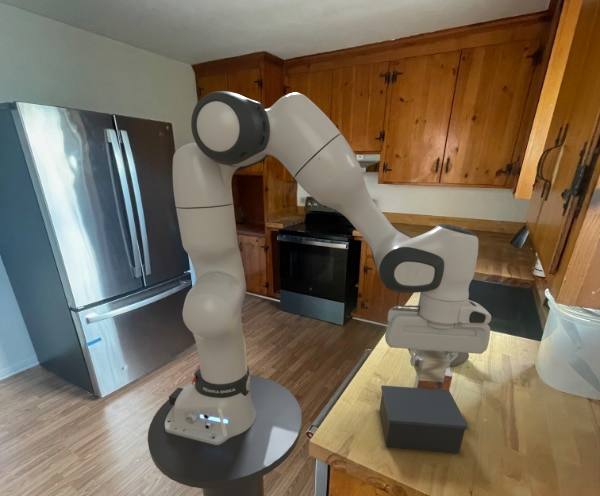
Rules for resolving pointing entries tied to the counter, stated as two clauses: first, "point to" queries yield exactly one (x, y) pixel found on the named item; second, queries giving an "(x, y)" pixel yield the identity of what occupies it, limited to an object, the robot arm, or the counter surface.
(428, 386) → the small box
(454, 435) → the storage box
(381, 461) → the counter surface
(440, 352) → the beige cube block
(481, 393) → the counter surface
